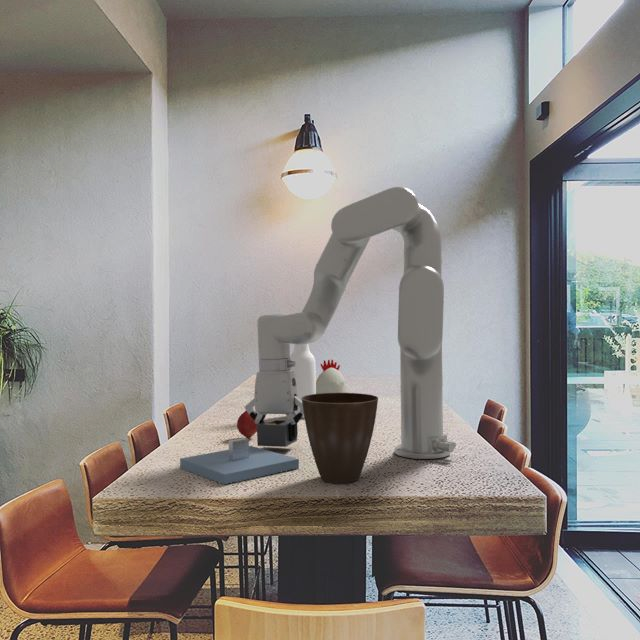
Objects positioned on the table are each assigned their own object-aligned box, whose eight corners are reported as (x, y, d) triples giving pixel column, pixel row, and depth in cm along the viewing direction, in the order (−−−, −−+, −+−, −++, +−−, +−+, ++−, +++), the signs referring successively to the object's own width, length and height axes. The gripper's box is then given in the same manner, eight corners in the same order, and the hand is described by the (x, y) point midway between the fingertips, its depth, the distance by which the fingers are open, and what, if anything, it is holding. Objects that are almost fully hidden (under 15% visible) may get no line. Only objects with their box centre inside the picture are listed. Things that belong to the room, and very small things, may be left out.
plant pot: (374, 468, 126) (373, 391, 126) (384, 488, 111) (383, 401, 111) (302, 470, 126) (301, 393, 126) (303, 490, 111) (301, 403, 111)
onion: (238, 441, 156) (238, 410, 156) (235, 437, 161) (235, 407, 161) (261, 439, 157) (260, 409, 157) (257, 435, 163) (257, 406, 163)
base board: (298, 468, 127) (298, 458, 127) (224, 484, 115) (224, 474, 115) (250, 454, 141) (250, 445, 141) (180, 467, 129) (180, 458, 129)
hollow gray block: (297, 440, 147) (296, 419, 147) (285, 446, 141) (284, 424, 141) (270, 439, 150) (269, 418, 150) (257, 445, 143) (256, 423, 143)
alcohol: (300, 419, 187) (298, 322, 187) (283, 416, 194) (281, 322, 194) (322, 416, 193) (320, 322, 192) (304, 413, 199) (303, 322, 199)
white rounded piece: (307, 397, 240) (307, 359, 240) (338, 394, 246) (338, 357, 246) (322, 401, 228) (322, 361, 228) (355, 398, 234) (354, 359, 234)
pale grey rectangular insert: (249, 457, 129) (248, 439, 129) (232, 460, 126) (232, 441, 126) (244, 456, 130) (244, 437, 130) (228, 459, 127) (228, 440, 127)
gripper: (314, 364, 146) (316, 438, 146) (248, 365, 152) (251, 435, 152) (302, 367, 139) (305, 444, 139) (234, 367, 145) (237, 442, 145)
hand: (277, 439), depth 145 cm, fingers closed on hollow gray block, 7 cm apart
